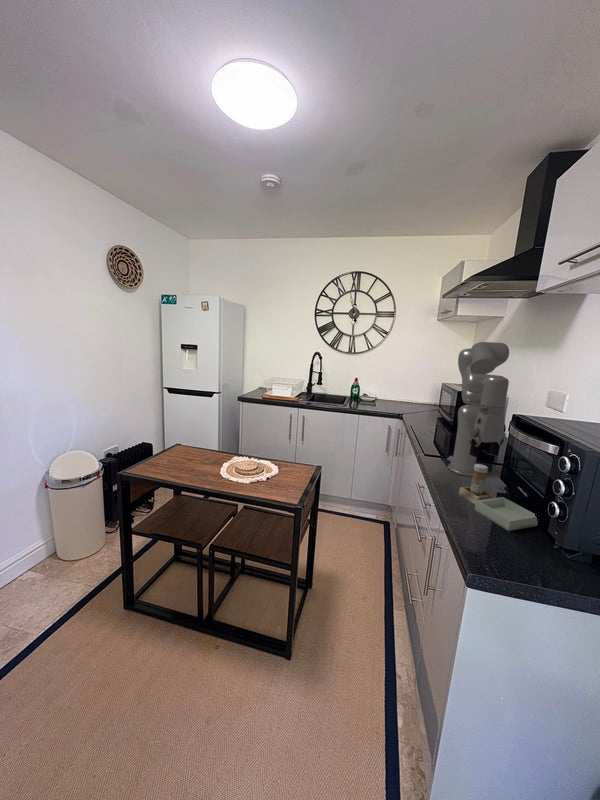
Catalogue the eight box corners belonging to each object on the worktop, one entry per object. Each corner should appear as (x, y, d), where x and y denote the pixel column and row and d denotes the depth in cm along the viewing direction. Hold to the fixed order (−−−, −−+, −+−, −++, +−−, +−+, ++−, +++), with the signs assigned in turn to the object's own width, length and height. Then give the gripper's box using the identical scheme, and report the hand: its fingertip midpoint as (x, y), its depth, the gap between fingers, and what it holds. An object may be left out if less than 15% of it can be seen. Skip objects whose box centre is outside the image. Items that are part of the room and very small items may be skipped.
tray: (474, 509, 111) (476, 500, 110) (501, 505, 115) (503, 497, 114) (508, 531, 99) (510, 521, 98) (536, 525, 103) (539, 516, 102)
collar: (458, 494, 122) (459, 487, 121) (474, 492, 125) (475, 485, 124) (476, 505, 114) (477, 497, 114) (492, 502, 117) (494, 495, 116)
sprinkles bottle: (466, 495, 121) (471, 463, 119) (476, 495, 122) (482, 463, 119) (473, 501, 117) (479, 468, 114) (484, 501, 117) (491, 468, 115)
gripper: (482, 413, 106) (474, 460, 109) (518, 412, 112) (510, 457, 115) (464, 408, 113) (457, 452, 116) (499, 408, 119) (492, 450, 122)
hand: (483, 455), depth 116 cm, fingers open, 9 cm apart
